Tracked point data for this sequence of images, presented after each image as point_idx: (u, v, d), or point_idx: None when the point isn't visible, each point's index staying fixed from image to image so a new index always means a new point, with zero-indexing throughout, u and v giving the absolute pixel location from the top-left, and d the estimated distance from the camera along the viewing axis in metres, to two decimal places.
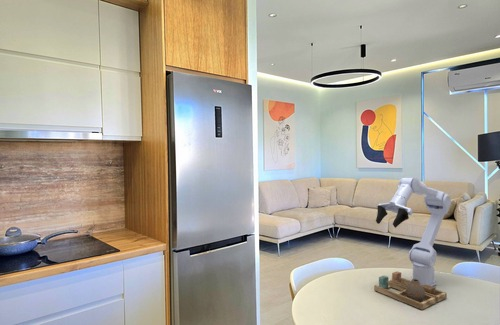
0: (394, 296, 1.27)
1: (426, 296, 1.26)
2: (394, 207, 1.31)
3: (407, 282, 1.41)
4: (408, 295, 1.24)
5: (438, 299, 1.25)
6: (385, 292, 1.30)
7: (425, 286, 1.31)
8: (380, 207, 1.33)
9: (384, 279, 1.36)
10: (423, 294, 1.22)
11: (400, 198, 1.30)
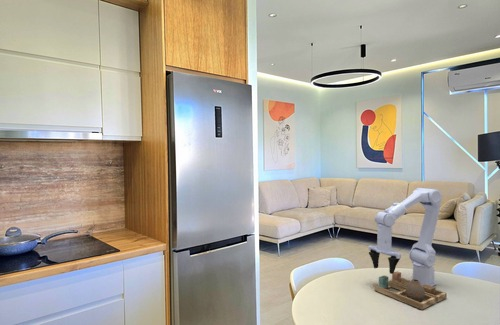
0: (394, 296, 1.27)
1: (426, 296, 1.26)
2: None
3: (407, 282, 1.41)
4: (408, 295, 1.24)
5: (438, 299, 1.25)
6: (385, 292, 1.30)
7: (425, 286, 1.31)
8: (371, 255, 1.39)
9: (384, 279, 1.36)
10: (423, 294, 1.22)
11: (384, 243, 1.34)
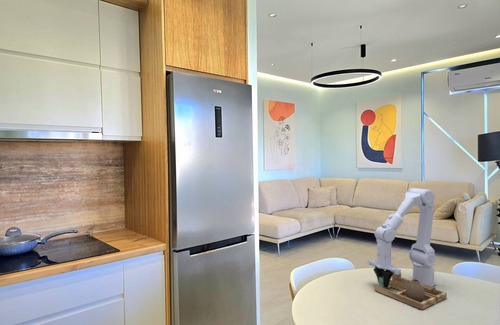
0: (394, 296, 1.27)
1: (426, 296, 1.26)
2: None
3: (407, 282, 1.41)
4: (408, 295, 1.24)
5: (438, 299, 1.25)
6: (385, 292, 1.30)
7: (425, 286, 1.31)
8: (376, 271, 1.37)
9: None
10: (423, 294, 1.22)
11: (384, 259, 1.34)
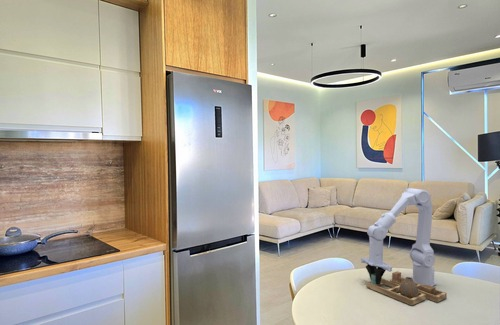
0: (385, 293, 1.30)
1: None
2: None
3: None
4: (402, 293, 1.26)
5: (438, 299, 1.25)
6: (377, 289, 1.34)
7: (425, 286, 1.31)
8: (368, 268, 1.40)
9: None
10: (417, 292, 1.24)
11: (376, 256, 1.38)
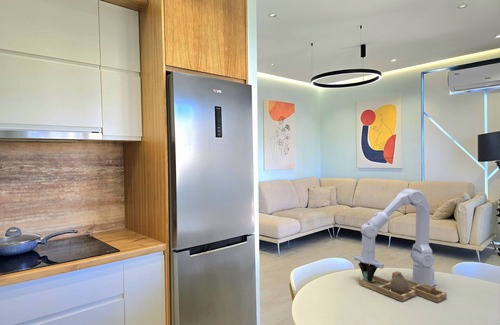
0: (377, 289, 1.34)
1: None
2: None
3: (407, 282, 1.41)
4: (393, 289, 1.29)
5: (438, 299, 1.25)
6: (368, 285, 1.37)
7: (425, 286, 1.31)
8: (361, 266, 1.44)
9: None
10: (407, 288, 1.28)
11: (368, 254, 1.41)
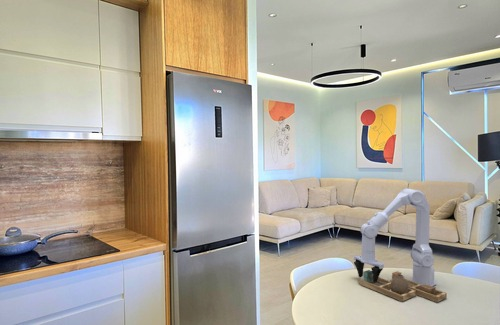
0: (377, 289, 1.34)
1: None
2: None
3: (407, 282, 1.41)
4: (393, 289, 1.29)
5: (438, 299, 1.25)
6: (369, 285, 1.37)
7: (425, 286, 1.31)
8: (356, 264, 1.46)
9: (368, 273, 1.42)
10: (407, 288, 1.28)
11: (368, 254, 1.41)
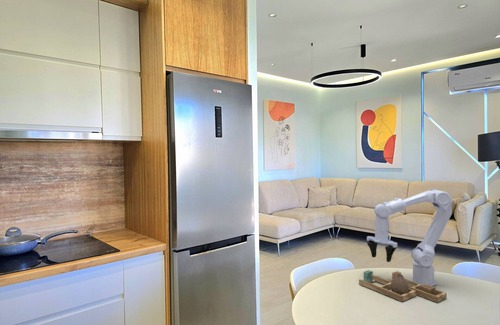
0: (377, 289, 1.34)
1: None
2: None
3: (407, 282, 1.41)
4: (393, 289, 1.29)
5: (438, 299, 1.25)
6: (369, 285, 1.37)
7: (425, 286, 1.31)
8: (370, 244, 1.48)
9: (368, 273, 1.42)
10: (407, 288, 1.28)
11: (381, 234, 1.43)
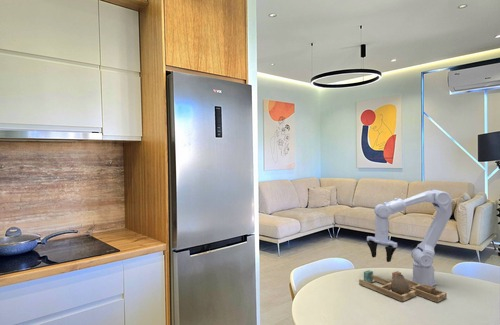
0: (377, 289, 1.34)
1: None
2: None
3: None
4: (393, 290, 1.29)
5: (438, 299, 1.25)
6: (369, 286, 1.37)
7: (425, 286, 1.31)
8: (370, 244, 1.48)
9: (368, 273, 1.42)
10: (407, 288, 1.28)
11: (381, 234, 1.43)
